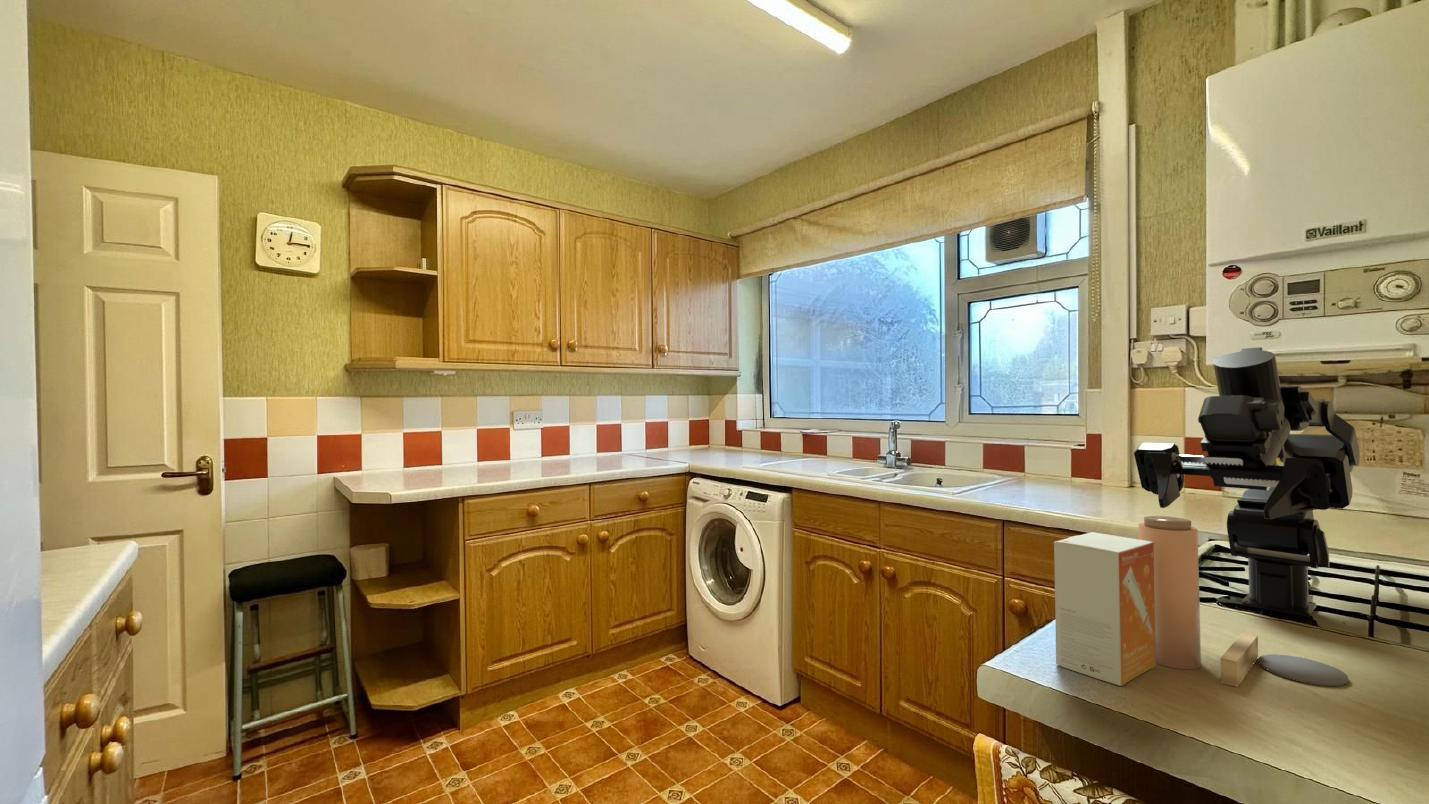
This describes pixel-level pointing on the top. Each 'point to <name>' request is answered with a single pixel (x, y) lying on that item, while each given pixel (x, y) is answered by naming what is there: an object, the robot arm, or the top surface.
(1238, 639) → the block
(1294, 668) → the coaster
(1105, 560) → the small box
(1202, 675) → the top surface
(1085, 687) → the top surface
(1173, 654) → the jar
